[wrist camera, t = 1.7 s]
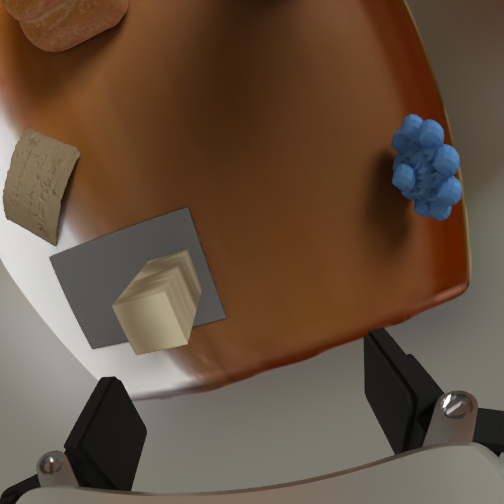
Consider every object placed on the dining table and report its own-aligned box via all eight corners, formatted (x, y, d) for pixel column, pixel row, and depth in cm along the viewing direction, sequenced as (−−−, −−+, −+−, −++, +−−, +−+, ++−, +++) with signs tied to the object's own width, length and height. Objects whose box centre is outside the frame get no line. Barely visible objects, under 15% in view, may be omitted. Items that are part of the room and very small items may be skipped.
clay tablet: (30, 123, 31) (18, 122, 28) (88, 142, 32) (78, 142, 30) (7, 224, 34) (-4, 229, 32) (59, 251, 36) (49, 257, 33)
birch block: (187, 249, 36) (164, 291, 24) (202, 288, 37) (187, 344, 25) (148, 261, 36) (111, 306, 24) (163, 299, 37) (136, 355, 26)
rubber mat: (188, 206, 35) (187, 207, 34) (226, 316, 38) (226, 318, 38) (50, 256, 35) (49, 257, 35) (93, 347, 39) (92, 349, 39)
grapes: (351, 130, 33) (401, 120, 21) (398, 115, 32) (458, 103, 21) (383, 223, 36) (437, 251, 24) (426, 204, 35) (487, 224, 24)
